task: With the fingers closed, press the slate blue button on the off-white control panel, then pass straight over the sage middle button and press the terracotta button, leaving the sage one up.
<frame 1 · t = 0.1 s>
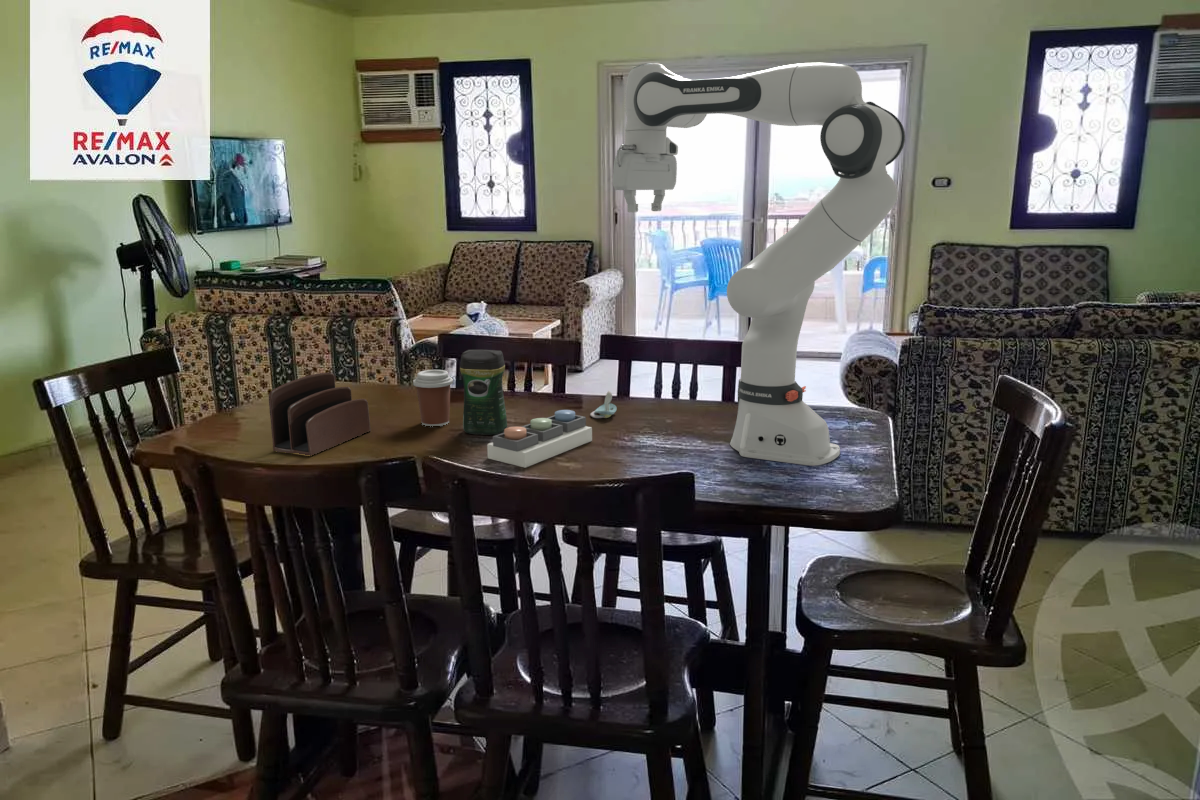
hand: (644, 211, 183), 48 cm above the table, fingers open, 8 cm apart
terracotta button: (515, 433, 168), point 5 cm above the table, slide at 0.0 cm
button panel: (541, 449, 176), on the table
sage button: (541, 424, 174), point 5 cm above the table, slide at 0.0 cm
blue button: (565, 416, 181), point 5 cm above the table, slide at 0.0 cm
letter holder: (324, 443, 182), on the table
pacifier: (602, 417, 201), on the table
coffee cup: (435, 423, 195), on the table
coffee jar: (485, 431, 189), on the table
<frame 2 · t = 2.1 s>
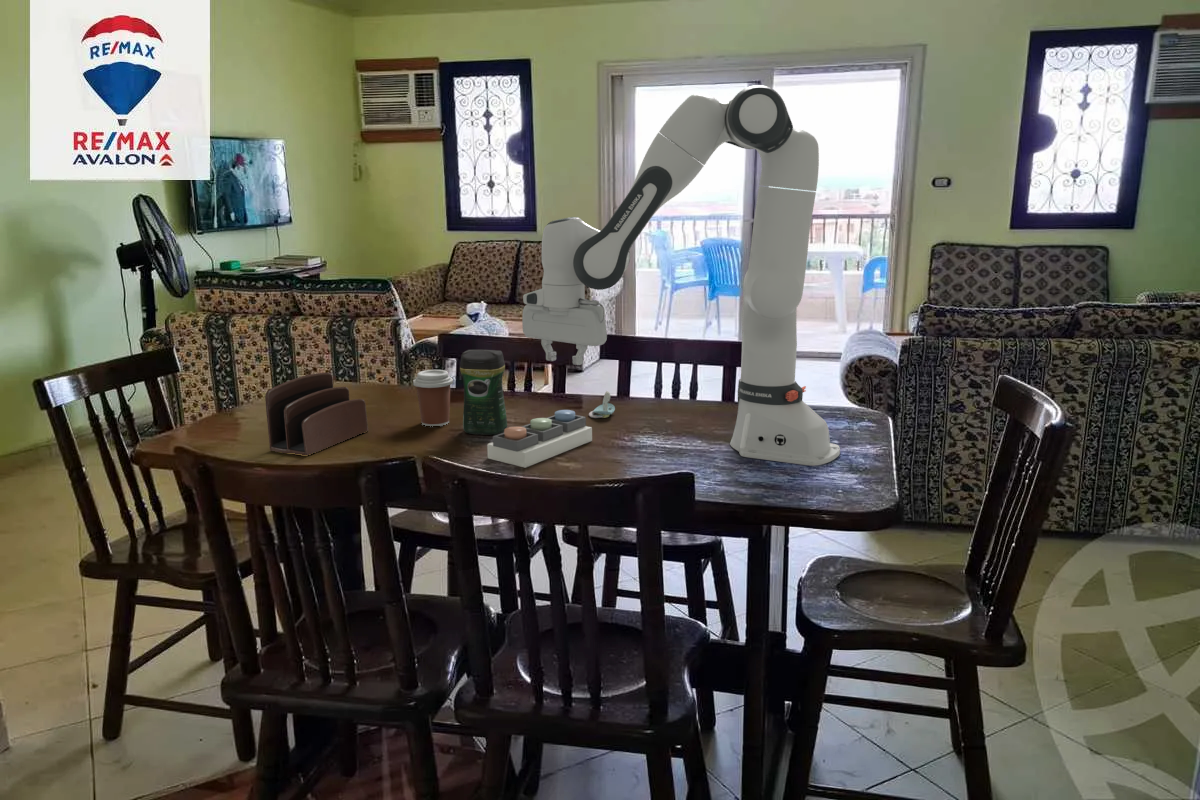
hand: (564, 362, 178), 17 cm above the table, fingers open, 6 cm apart
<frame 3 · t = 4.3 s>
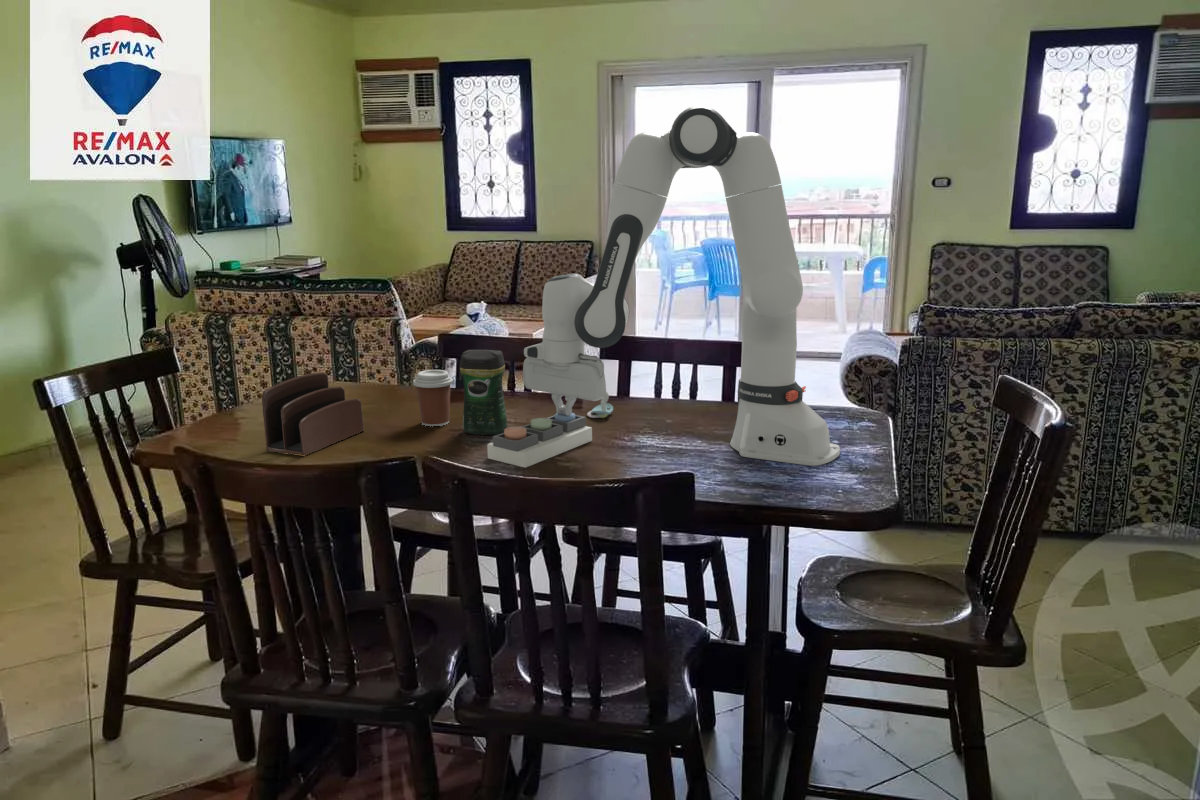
hand: (564, 414, 181), 6 cm above the table, fingers closed, pressing on blue button
blue button: (565, 418, 181), point 5 cm above the table, slide at 0.5 cm, touching gripper
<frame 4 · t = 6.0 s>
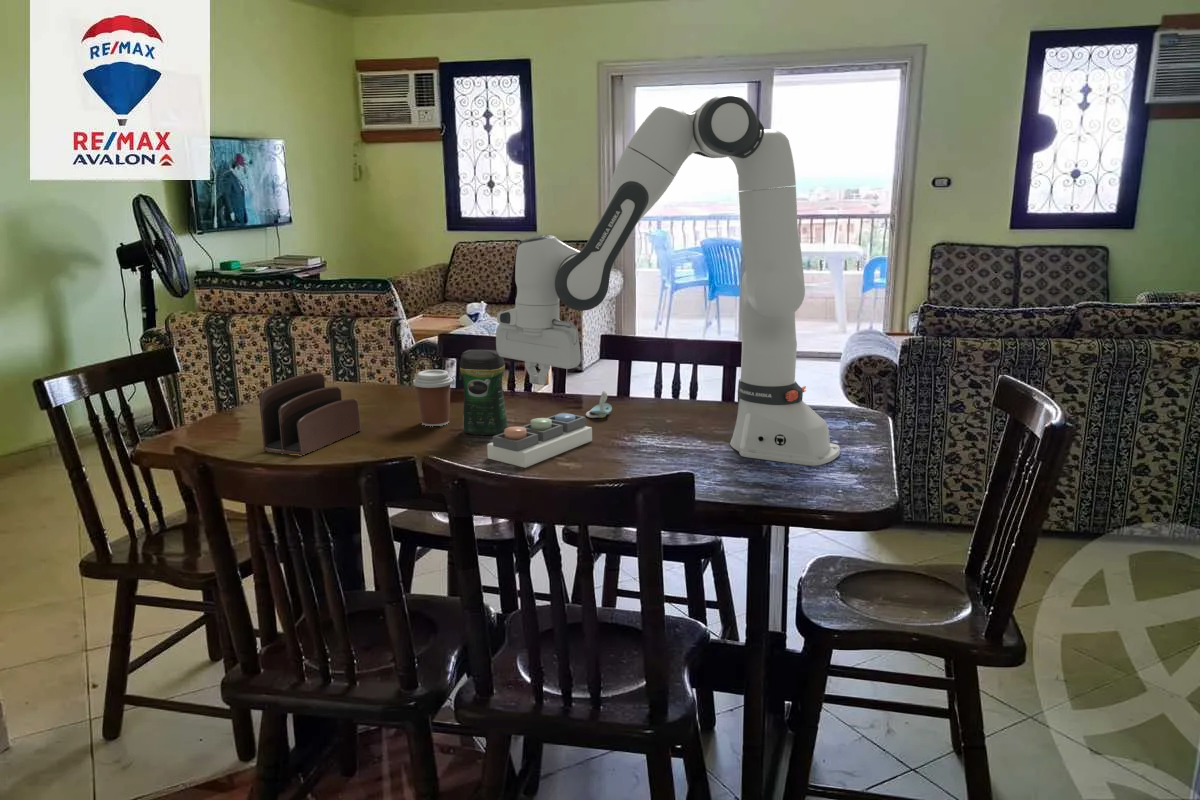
hand: (537, 383, 173), 14 cm above the table, fingers closed
blue button: (565, 419, 181), point 5 cm above the table, slide at 0.8 cm
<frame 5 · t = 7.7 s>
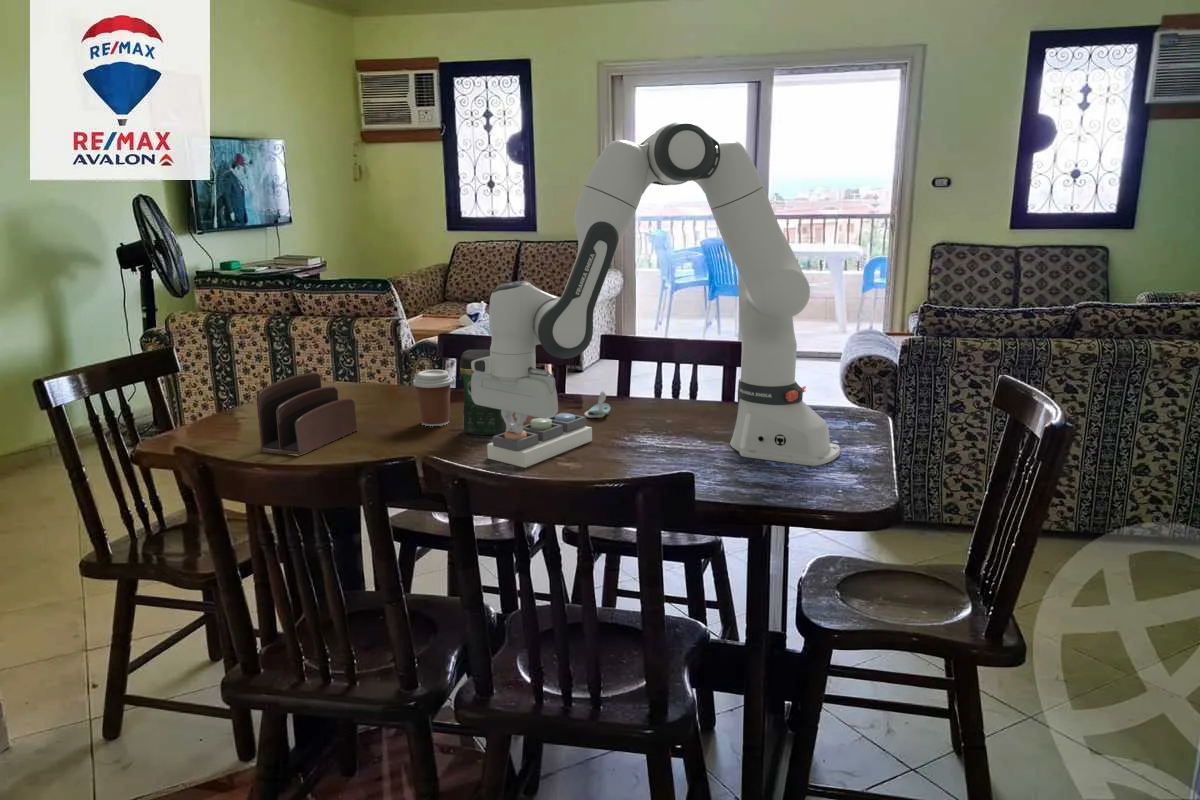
hand: (514, 432, 168), 6 cm above the table, fingers closed, pressing on terracotta button
terracotta button: (515, 436, 168), point 5 cm above the table, slide at 0.6 cm, touching gripper
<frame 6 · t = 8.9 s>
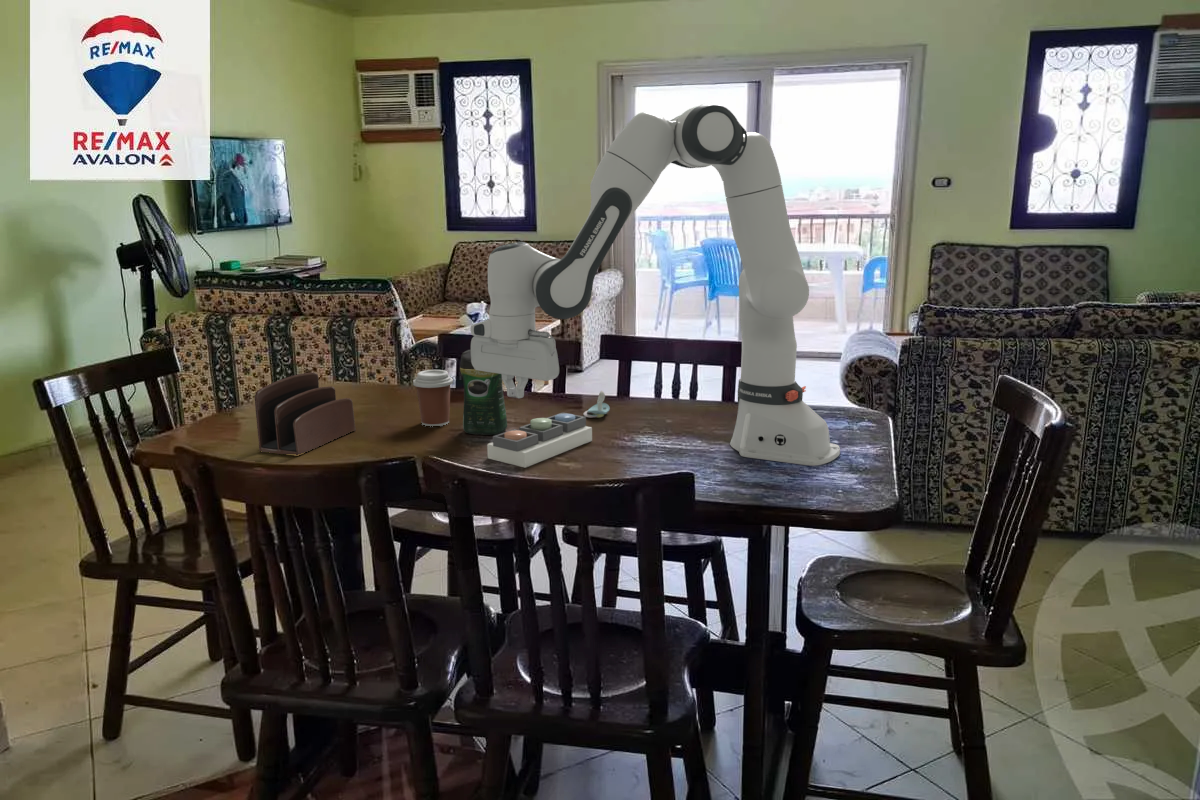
hand: (515, 397, 166), 13 cm above the table, fingers closed
terracotta button: (515, 437, 168), point 5 cm above the table, slide at 0.8 cm
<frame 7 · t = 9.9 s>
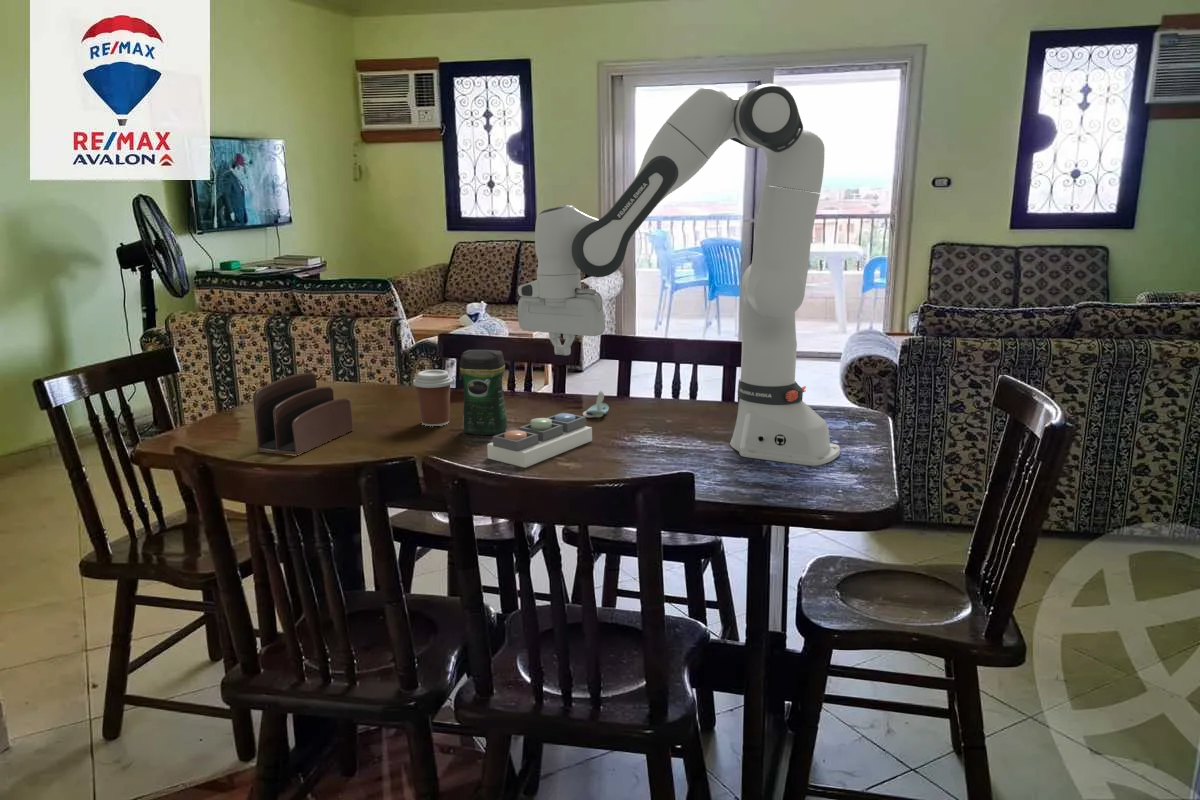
hand: (562, 354, 174), 20 cm above the table, fingers closed
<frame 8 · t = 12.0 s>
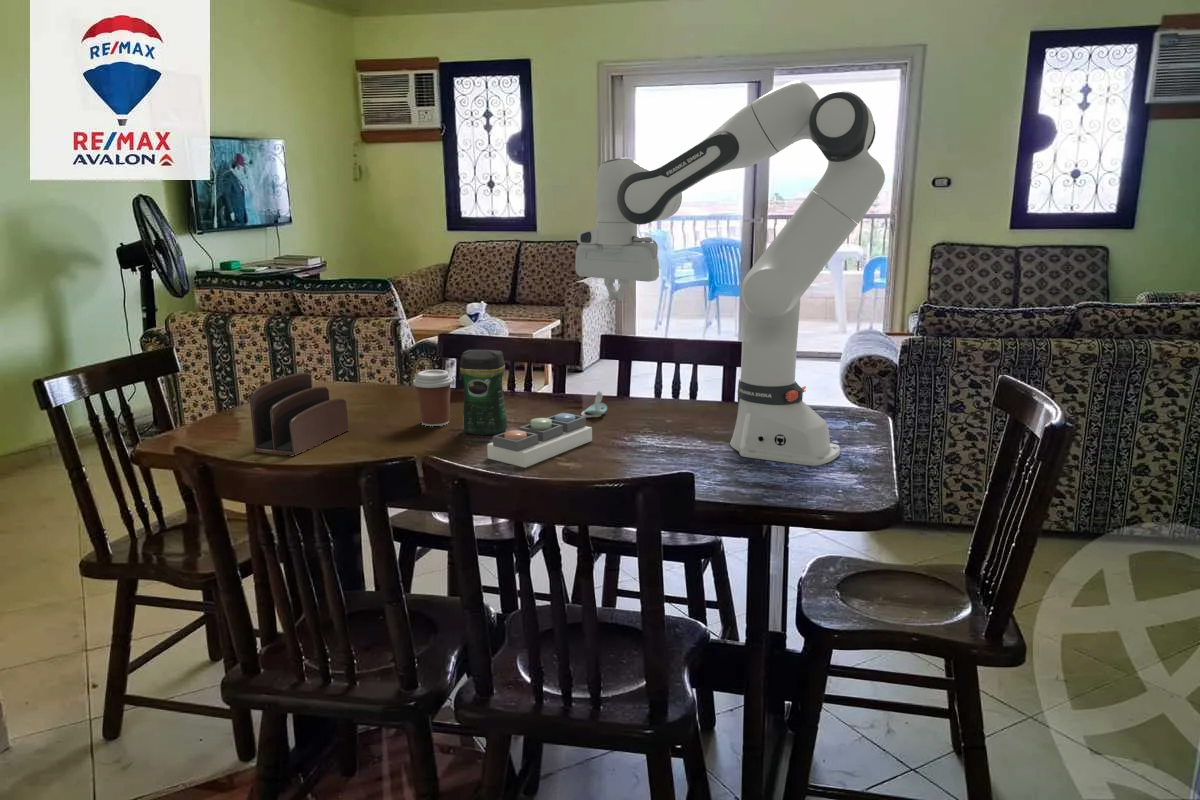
hand: (616, 299, 185), 29 cm above the table, fingers closed
at the end: blue button slide at 0.8 cm; terracotta button slide at 0.8 cm; sage button slide at 0.0 cm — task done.
